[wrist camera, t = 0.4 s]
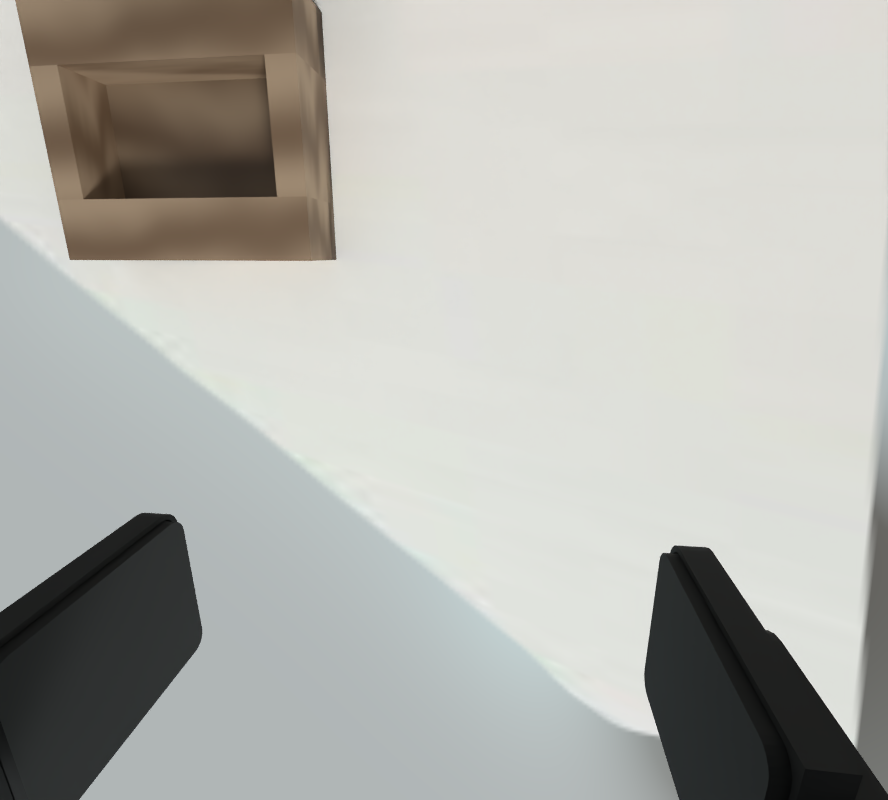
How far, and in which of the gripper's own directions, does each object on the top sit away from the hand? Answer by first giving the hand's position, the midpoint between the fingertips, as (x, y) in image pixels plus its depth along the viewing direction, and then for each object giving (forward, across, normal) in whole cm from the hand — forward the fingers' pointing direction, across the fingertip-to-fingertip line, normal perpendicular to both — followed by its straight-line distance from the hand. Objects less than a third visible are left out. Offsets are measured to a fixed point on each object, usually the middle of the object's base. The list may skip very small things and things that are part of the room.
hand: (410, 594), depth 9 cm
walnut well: (+30, +20, -14) cm, 39 cm away
